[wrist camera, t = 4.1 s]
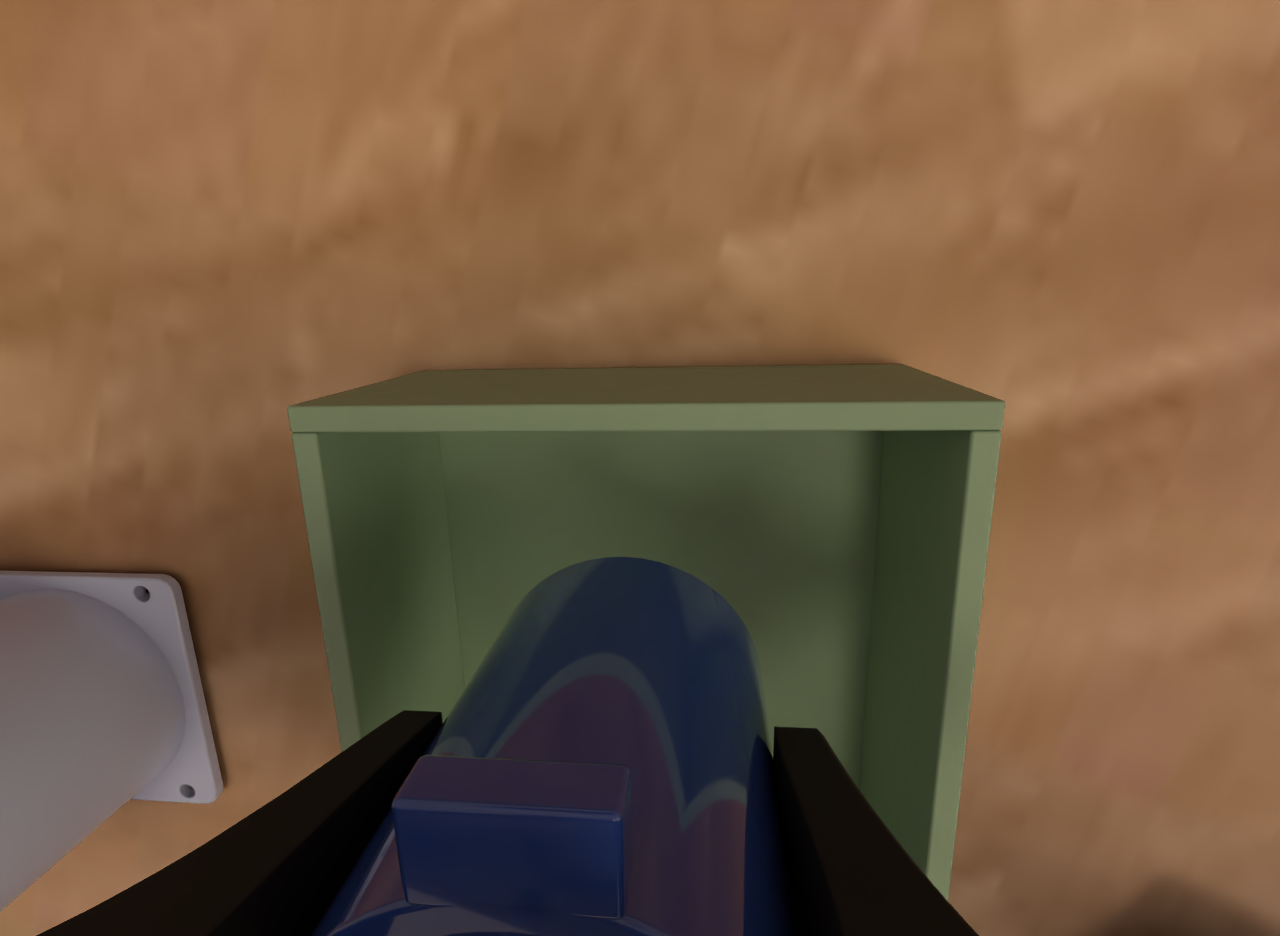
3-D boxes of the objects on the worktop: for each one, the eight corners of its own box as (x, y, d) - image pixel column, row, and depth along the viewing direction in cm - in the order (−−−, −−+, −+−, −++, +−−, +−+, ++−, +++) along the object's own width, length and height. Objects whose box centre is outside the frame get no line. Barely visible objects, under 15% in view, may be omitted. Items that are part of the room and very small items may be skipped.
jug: (484, 510, 12) (186, 794, 5) (766, 513, 11) (849, 835, 5) (513, 858, 14) (324, 1400, 7) (756, 874, 13) (804, 1476, 7)
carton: (903, 363, 17) (1007, 400, 11) (868, 830, 20) (932, 1046, 14) (422, 370, 18) (285, 406, 12) (469, 806, 21) (379, 996, 16)
